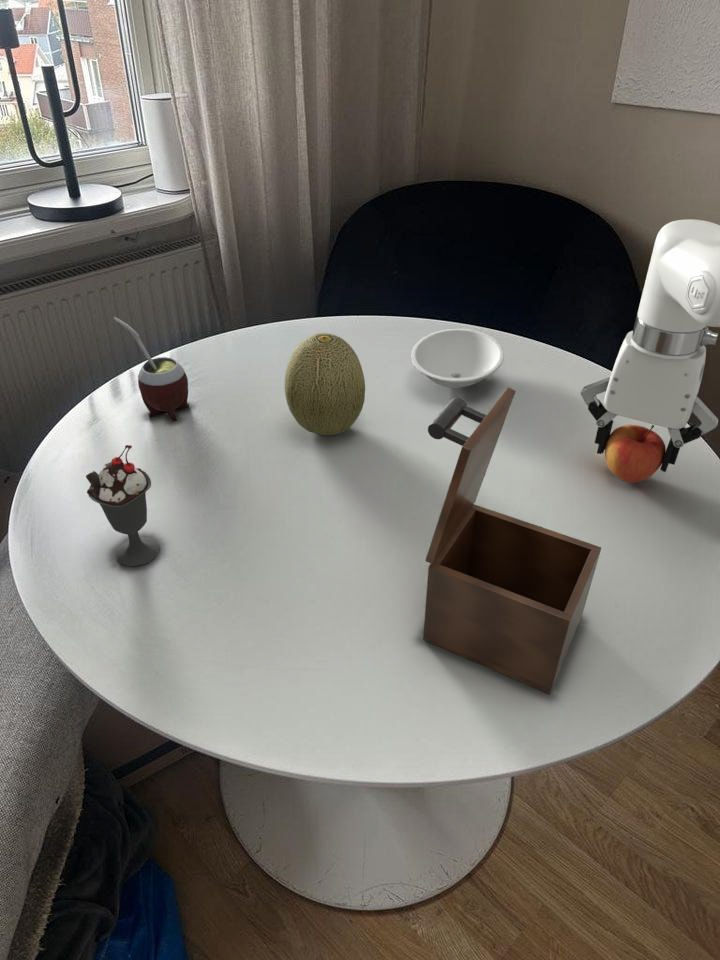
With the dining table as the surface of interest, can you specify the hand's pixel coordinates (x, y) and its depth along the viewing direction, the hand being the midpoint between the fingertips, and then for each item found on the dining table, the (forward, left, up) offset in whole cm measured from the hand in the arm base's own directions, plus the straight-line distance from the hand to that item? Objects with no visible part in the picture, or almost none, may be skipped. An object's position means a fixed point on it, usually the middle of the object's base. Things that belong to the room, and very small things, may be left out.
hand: (633, 456), depth 92 cm
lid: (+10, +33, +15) cm, 37 cm away
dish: (+30, -12, -4) cm, 33 cm away
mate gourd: (+65, +18, -4) cm, 68 cm away
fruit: (+41, +10, -4) cm, 43 cm away
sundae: (+47, +43, -4) cm, 64 cm away
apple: (0, 0, -3) cm, 3 cm away
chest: (+5, +33, -3) cm, 33 cm away
